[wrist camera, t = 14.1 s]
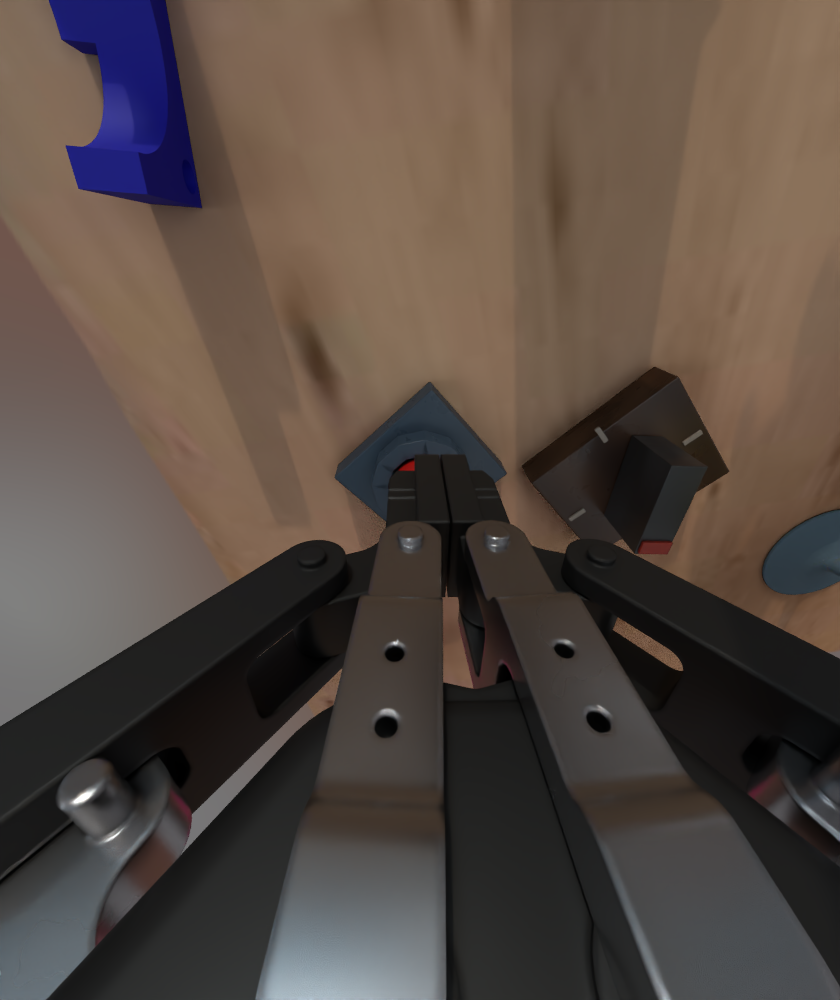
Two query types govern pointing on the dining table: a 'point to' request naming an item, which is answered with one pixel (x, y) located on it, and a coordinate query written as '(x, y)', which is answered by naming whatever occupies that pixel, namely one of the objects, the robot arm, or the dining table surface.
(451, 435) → the button box
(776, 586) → the cocktail glass
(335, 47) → the dining table surface
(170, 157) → the blue notched block
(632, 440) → the selector knob handle
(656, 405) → the switch base
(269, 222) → the dining table surface
